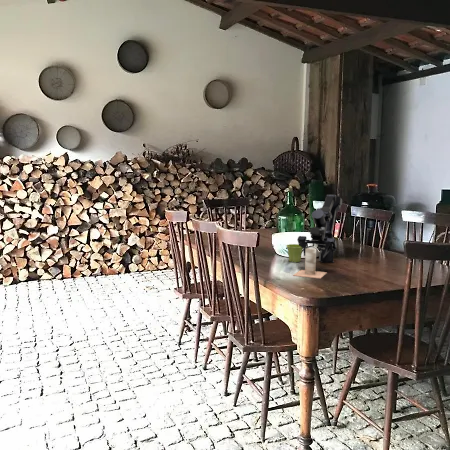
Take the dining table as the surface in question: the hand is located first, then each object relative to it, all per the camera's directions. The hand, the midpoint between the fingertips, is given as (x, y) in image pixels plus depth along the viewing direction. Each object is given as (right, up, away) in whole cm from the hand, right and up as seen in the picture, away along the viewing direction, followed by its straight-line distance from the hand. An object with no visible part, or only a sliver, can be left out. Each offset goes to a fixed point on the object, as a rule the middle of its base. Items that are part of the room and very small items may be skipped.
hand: (313, 256), depth 236 cm
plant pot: (-5, -5, +27) cm, 28 cm away
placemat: (-2, -8, -4) cm, 10 cm away
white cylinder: (-2, -8, -4) cm, 9 cm away
